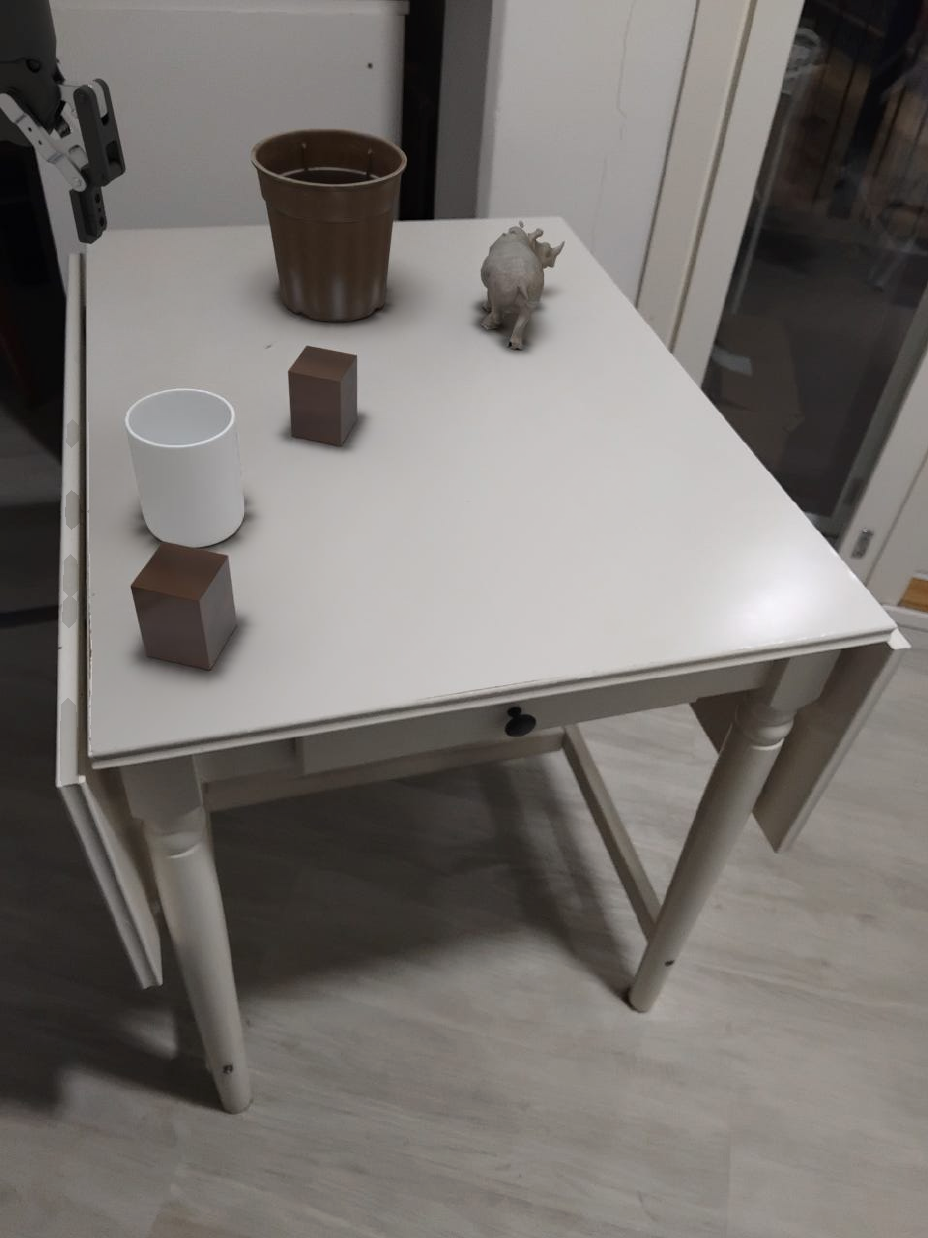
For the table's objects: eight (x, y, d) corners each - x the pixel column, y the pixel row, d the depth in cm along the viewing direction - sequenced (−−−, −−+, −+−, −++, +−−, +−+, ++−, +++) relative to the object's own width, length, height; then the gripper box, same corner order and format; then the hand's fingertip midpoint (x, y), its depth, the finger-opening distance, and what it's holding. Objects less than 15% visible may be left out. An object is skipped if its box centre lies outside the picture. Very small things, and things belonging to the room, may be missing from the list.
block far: (341, 446, 90) (340, 381, 85) (291, 436, 90) (287, 370, 85) (357, 418, 93) (357, 354, 88) (309, 409, 94) (306, 345, 89)
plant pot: (284, 341, 103) (275, 189, 92) (245, 276, 113) (232, 132, 102) (422, 322, 108) (430, 176, 97) (373, 261, 119) (375, 123, 107)
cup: (151, 557, 77) (130, 453, 70) (135, 471, 84) (115, 370, 77) (253, 541, 79) (243, 439, 72) (229, 459, 87) (217, 360, 80)
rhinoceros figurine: (454, 327, 103) (495, 187, 100) (467, 346, 116) (504, 222, 114) (522, 348, 102) (565, 207, 100) (528, 364, 116) (566, 240, 113)
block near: (210, 670, 69) (198, 601, 64) (145, 655, 69) (129, 585, 64) (237, 624, 72) (228, 555, 67) (175, 610, 73) (162, 540, 68)
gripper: (-176, -47, 55) (-86, 231, 66) (50, -11, 54) (103, 267, 65) (-93, -67, 60) (-22, 194, 72) (115, -35, 59) (153, 226, 70)
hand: (37, 228), depth 68 cm, fingers open, 8 cm apart
